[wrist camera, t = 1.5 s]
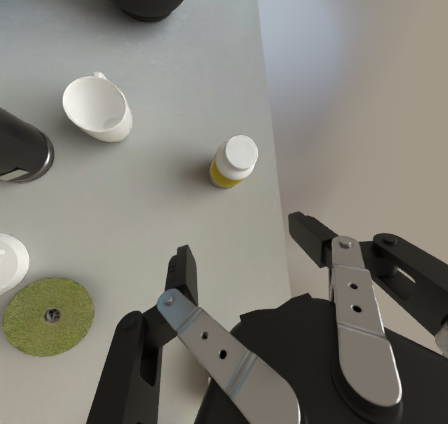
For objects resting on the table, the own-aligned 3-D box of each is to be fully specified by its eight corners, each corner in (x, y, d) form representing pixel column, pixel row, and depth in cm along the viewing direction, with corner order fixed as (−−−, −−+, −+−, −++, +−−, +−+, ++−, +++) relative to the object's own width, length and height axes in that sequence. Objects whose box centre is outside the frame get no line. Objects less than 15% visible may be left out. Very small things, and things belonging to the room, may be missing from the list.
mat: (46, 363, 26) (35, 374, 24) (-2, 305, 25) (-17, 313, 23) (114, 314, 28) (109, 320, 26) (73, 259, 27) (64, 263, 25)
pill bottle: (238, 191, 34) (262, 177, 23) (207, 187, 32) (217, 171, 22) (240, 160, 34) (265, 133, 23) (210, 156, 33) (221, 124, 22)
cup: (92, 151, 29) (63, 131, 22) (88, 93, 29) (58, 56, 22) (141, 151, 30) (128, 132, 24) (137, 96, 30) (123, 62, 24)
